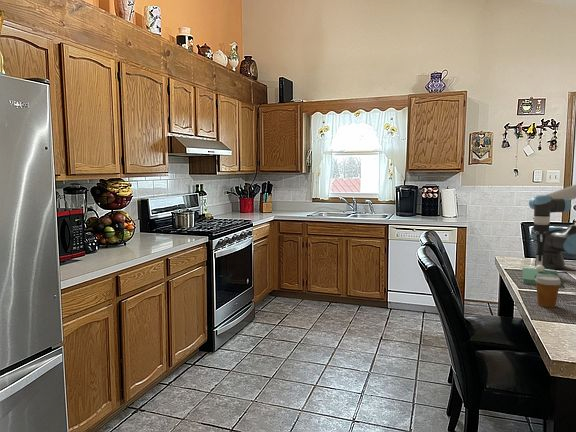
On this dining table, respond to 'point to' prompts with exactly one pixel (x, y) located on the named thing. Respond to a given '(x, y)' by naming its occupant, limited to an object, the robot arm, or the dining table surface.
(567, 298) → the dining table surface
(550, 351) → the dining table surface
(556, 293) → the disposable coffee cup
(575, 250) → the robot arm
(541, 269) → the golf ball
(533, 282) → the putting mat
